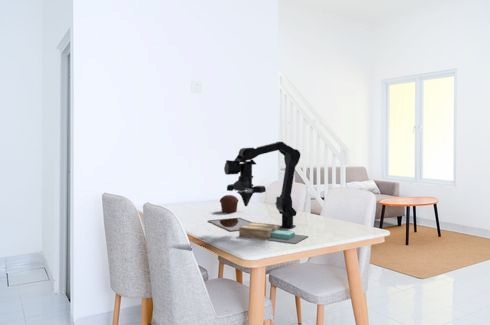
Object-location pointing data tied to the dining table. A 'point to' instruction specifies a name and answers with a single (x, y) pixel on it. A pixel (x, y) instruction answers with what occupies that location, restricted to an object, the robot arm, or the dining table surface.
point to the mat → (292, 240)
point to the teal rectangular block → (283, 234)
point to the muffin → (229, 204)
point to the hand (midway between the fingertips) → (246, 206)
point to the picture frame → (230, 223)
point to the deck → (258, 230)
